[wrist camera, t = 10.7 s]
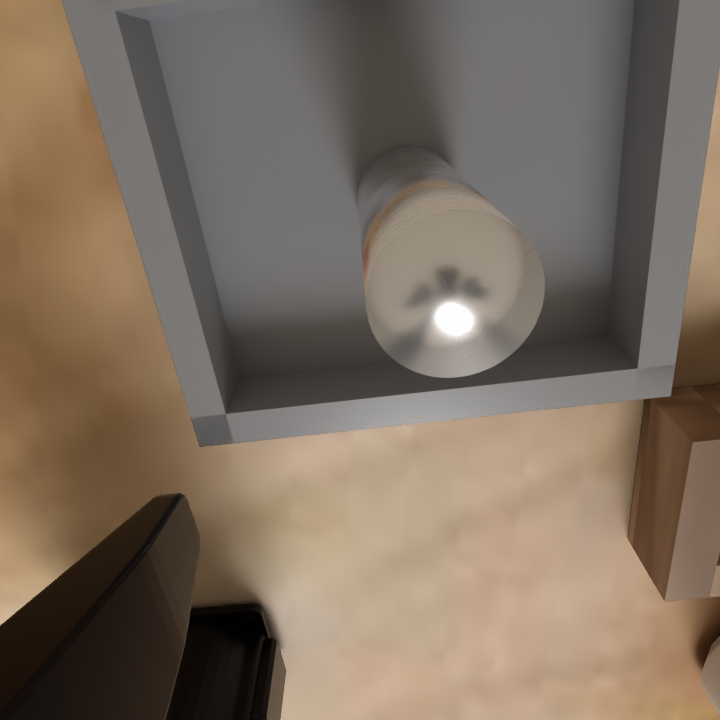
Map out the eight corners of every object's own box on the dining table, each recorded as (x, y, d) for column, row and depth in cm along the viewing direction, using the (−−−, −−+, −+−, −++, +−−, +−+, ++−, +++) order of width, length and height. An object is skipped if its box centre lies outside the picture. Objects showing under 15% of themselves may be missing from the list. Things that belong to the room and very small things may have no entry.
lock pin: (363, 251, 19) (375, 386, 11) (351, 151, 17) (355, 222, 9) (458, 240, 19) (542, 367, 11) (454, 138, 17) (548, 198, 9)
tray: (221, 395, 22) (199, 446, 19) (108, -19, 16) (48, -42, 13) (625, 350, 22) (670, 396, 18) (670, -103, 15) (751, -151, 12)
